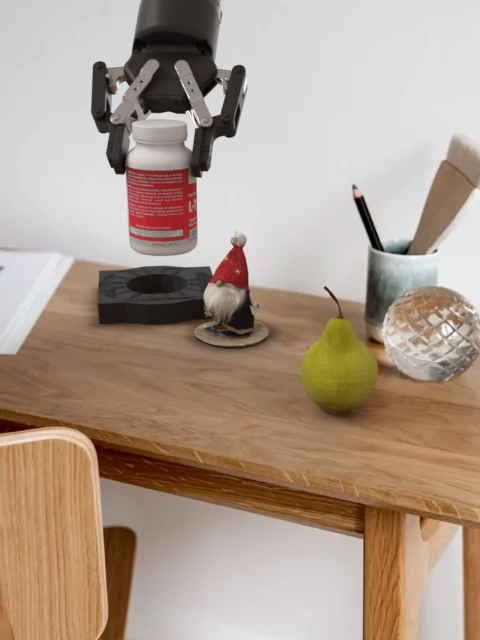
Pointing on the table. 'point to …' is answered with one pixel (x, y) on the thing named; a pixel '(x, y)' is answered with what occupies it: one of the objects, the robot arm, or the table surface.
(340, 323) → the fruit
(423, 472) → the table surface
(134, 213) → the pill bottle
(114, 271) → the ashtray
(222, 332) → the figurine
